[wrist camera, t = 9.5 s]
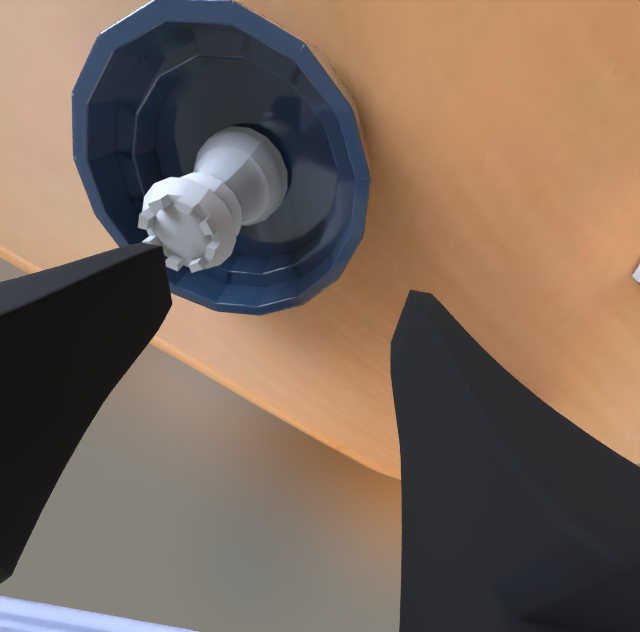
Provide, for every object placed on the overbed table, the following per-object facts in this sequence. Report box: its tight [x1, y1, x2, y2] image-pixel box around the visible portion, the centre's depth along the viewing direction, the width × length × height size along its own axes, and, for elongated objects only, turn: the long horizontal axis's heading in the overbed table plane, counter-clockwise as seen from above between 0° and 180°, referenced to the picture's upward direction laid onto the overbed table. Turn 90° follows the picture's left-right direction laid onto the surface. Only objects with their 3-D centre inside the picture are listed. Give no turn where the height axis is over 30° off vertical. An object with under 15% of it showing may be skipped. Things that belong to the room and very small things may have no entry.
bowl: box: [72, 0, 371, 315], centre depth 16 cm, size 12×12×4 cm
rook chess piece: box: [138, 126, 287, 273], centre depth 14 cm, size 4×4×8 cm
